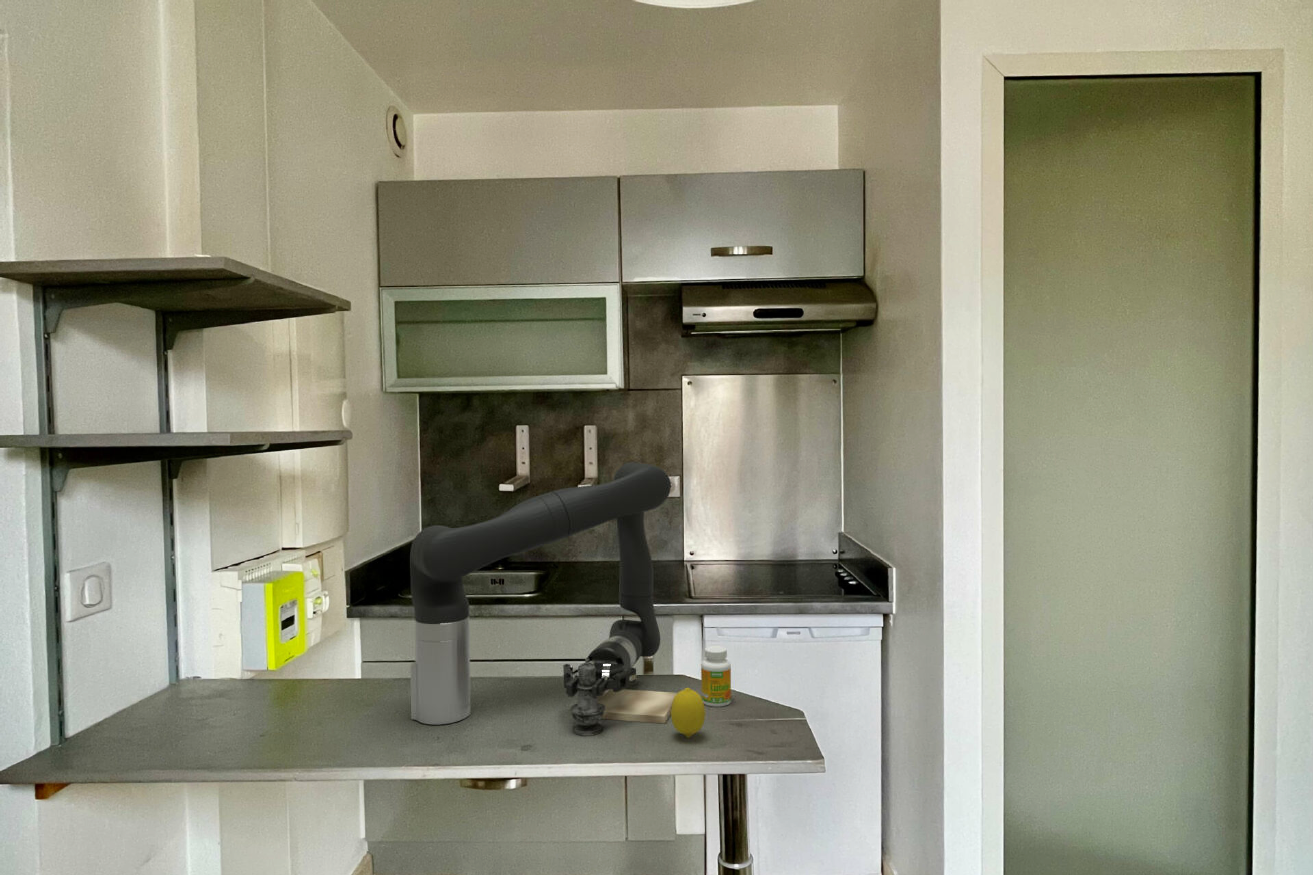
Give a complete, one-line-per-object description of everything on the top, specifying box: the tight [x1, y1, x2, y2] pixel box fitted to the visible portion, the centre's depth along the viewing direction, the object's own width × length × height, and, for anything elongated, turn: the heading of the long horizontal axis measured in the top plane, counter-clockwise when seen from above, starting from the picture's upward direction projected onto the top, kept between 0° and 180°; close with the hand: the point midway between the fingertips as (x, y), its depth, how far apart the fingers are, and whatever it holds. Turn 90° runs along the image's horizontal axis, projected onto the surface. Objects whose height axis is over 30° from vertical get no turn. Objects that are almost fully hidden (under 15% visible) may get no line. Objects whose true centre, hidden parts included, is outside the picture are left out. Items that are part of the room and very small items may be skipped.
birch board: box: [597, 688, 679, 724], centre depth 137 cm, size 16×12×1 cm
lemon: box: [670, 687, 706, 738], centre depth 123 cm, size 6×6×8 cm
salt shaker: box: [569, 657, 605, 736], centre depth 127 cm, size 6×6×12 cm
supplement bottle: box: [700, 645, 732, 708], centre depth 139 cm, size 5×5×10 cm
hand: (582, 691), depth 124 cm, fingers closed on salt shaker, 3 cm apart
